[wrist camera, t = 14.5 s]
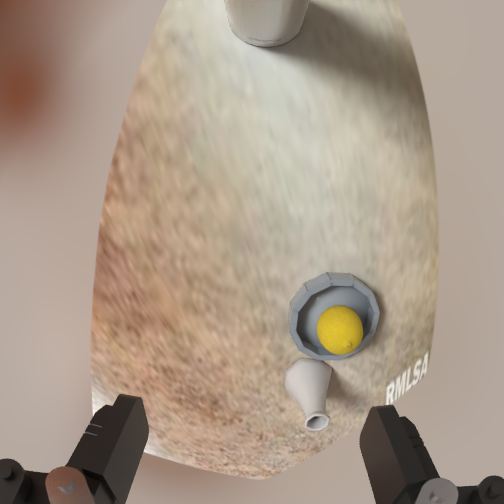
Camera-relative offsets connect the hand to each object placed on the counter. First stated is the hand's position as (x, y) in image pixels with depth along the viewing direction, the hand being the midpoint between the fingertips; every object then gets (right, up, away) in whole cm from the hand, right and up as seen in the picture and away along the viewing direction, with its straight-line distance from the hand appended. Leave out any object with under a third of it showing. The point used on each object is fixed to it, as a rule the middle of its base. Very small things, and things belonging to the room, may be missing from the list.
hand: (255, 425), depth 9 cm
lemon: (+10, -2, +30) cm, 32 cm away
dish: (+10, -2, +31) cm, 32 cm away
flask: (+8, -12, +34) cm, 37 cm away
